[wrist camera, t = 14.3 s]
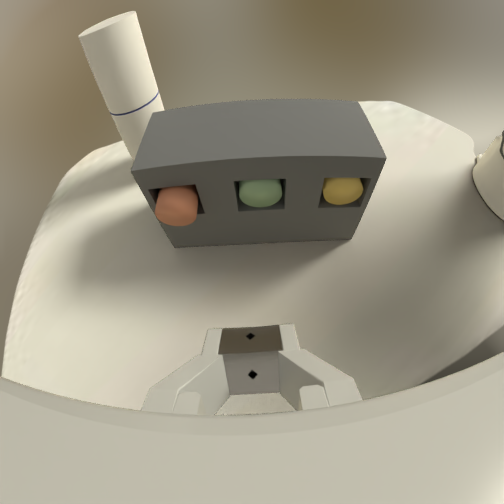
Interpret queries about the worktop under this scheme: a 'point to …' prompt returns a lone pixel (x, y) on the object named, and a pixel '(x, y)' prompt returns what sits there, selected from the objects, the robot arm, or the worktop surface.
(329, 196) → the ochre button
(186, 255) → the worktop surface
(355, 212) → the control panel
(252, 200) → the sage green button
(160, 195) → the terracotta button
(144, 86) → the cylindrical container
